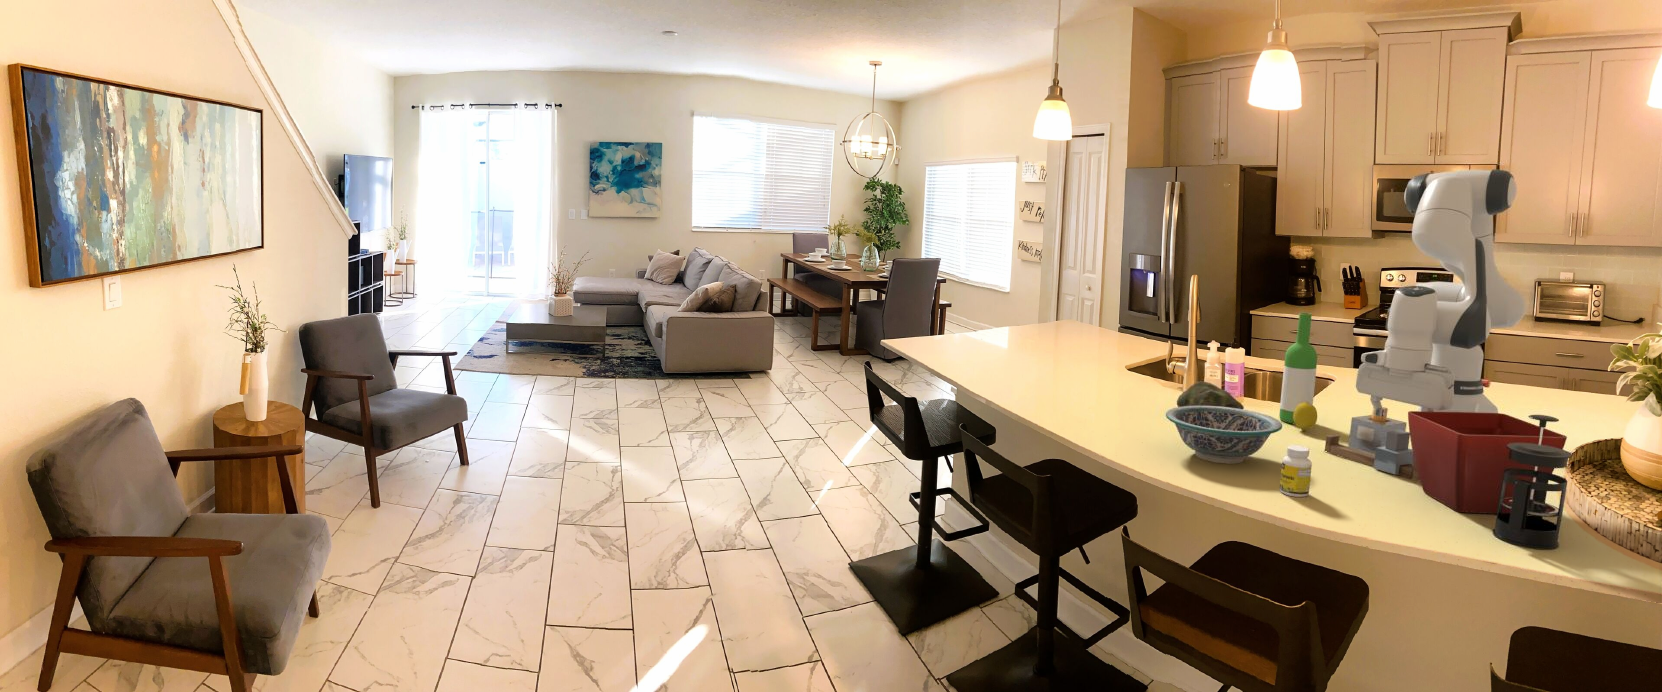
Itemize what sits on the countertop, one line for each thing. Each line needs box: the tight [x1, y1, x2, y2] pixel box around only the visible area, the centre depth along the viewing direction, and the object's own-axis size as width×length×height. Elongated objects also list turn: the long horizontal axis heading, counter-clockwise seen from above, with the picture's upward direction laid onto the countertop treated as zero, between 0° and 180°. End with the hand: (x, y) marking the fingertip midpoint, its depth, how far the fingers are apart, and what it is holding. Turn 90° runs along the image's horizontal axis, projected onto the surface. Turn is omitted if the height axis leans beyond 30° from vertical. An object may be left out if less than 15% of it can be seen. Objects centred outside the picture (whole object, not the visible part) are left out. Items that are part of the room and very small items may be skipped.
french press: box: [1492, 414, 1573, 551], centre depth 153 cm, size 12×9×23 cm
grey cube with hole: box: [1348, 414, 1407, 454], centre depth 207 cm, size 8×8×8 cm
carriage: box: [1373, 430, 1415, 475], centre depth 193 cm, size 6×5×9 cm
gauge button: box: [1371, 406, 1389, 422], centre depth 206 cm, size 3×3×5 cm
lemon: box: [1293, 402, 1318, 432], centre depth 226 cm, size 6×6×8 cm
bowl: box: [1165, 406, 1283, 465], centre depth 202 cm, size 25×25×10 cm
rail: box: [1324, 434, 1420, 481], centre depth 198 cm, size 3×23×4 cm, turn 21°
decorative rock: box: [1176, 380, 1245, 410], centre depth 241 cm, size 15×16×10 cm
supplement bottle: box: [1279, 445, 1313, 498], centre depth 178 cm, size 5×5×10 cm
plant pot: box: [1407, 410, 1568, 515], centre depth 172 cm, size 19×19×17 cm
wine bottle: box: [1279, 312, 1318, 425], centre depth 233 cm, size 8×8×30 cm
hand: (1399, 421), depth 191 cm, fingers open, 8 cm apart
